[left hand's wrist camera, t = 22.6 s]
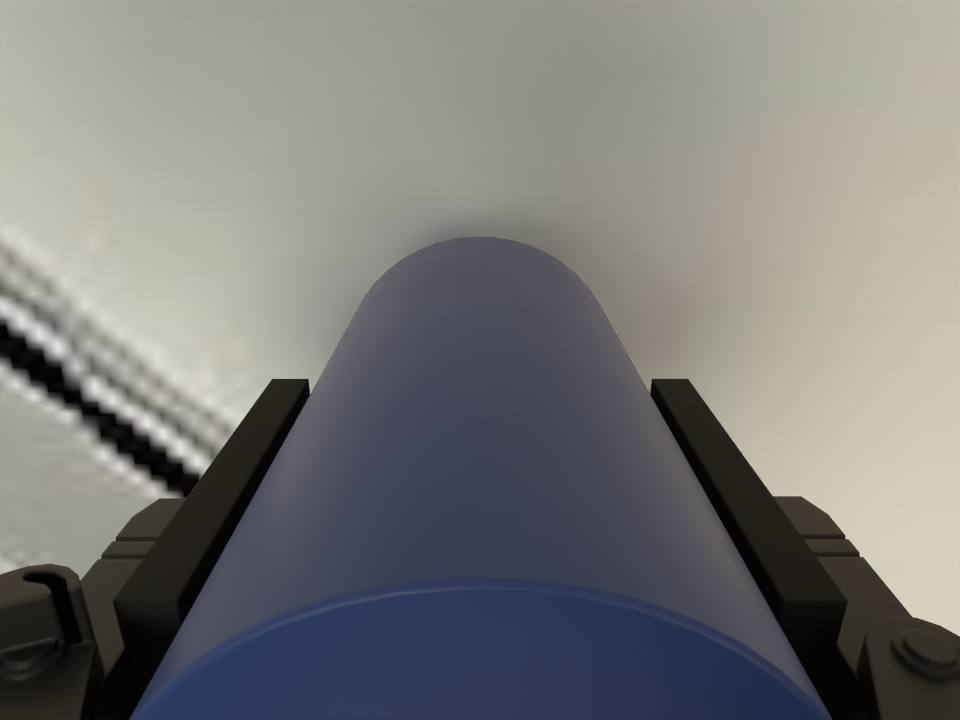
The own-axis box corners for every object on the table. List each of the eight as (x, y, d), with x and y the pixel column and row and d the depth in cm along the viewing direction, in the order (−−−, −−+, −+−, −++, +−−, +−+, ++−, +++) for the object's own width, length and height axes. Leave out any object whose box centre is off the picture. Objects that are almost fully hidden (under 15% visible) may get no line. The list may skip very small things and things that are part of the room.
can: (598, 212, 16) (893, 517, 5) (626, 463, 19) (859, 1056, 7) (314, 263, 17) (-59, 655, 5) (380, 501, 19) (232, 1115, 8)
